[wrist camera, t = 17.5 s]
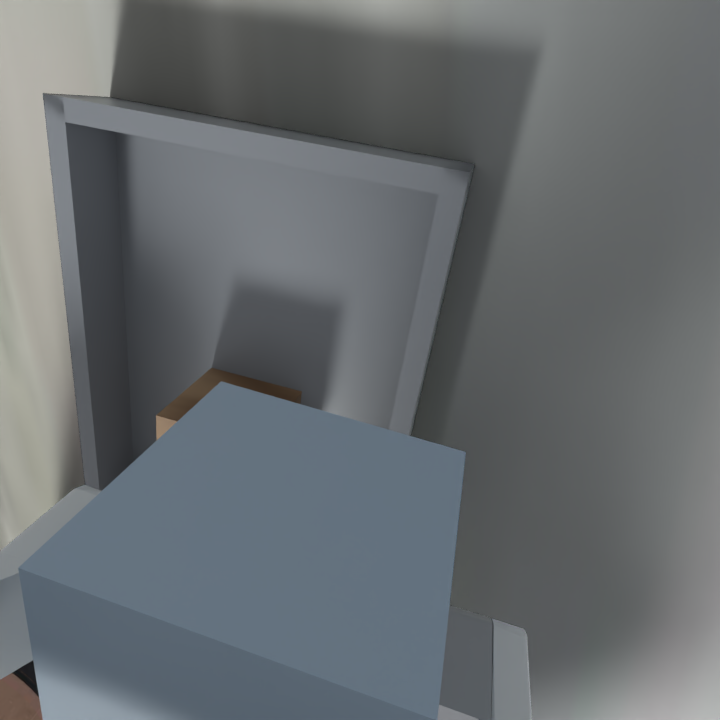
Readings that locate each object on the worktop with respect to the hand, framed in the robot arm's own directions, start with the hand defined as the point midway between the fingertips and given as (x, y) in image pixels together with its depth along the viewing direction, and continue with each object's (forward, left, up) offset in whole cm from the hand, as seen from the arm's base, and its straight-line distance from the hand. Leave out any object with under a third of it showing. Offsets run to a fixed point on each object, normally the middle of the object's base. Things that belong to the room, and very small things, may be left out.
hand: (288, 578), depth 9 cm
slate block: (0, 0, -2) cm, 2 cm away
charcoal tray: (-4, +6, -15) cm, 17 cm away
